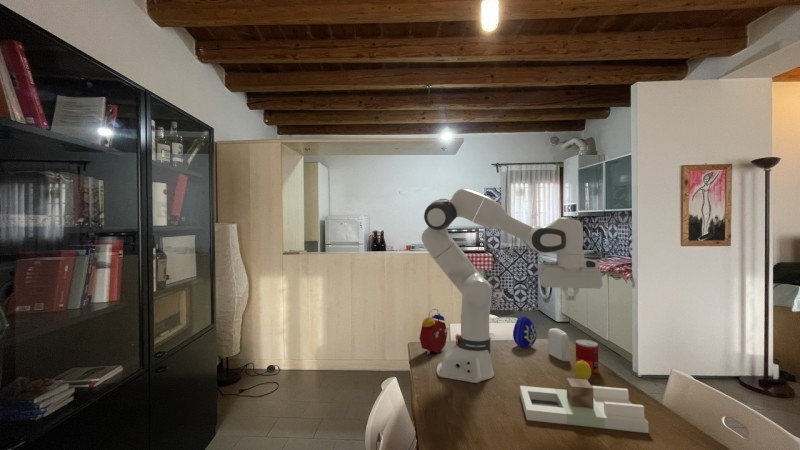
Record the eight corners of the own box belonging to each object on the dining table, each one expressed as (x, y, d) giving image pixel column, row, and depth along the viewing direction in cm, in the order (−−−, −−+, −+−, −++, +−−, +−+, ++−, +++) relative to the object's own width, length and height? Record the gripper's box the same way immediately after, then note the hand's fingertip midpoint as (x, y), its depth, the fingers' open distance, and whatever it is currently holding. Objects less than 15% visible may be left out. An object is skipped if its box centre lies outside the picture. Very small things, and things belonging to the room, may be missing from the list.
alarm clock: (436, 345, 167) (436, 304, 167) (452, 349, 161) (451, 307, 161) (419, 354, 155) (418, 310, 155) (435, 358, 150) (434, 313, 150)
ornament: (523, 352, 157) (523, 319, 157) (508, 346, 165) (508, 315, 165) (539, 347, 162) (539, 316, 163) (524, 342, 170) (524, 312, 171)
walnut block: (571, 406, 103) (571, 386, 103) (566, 396, 109) (566, 378, 109) (593, 408, 102) (593, 388, 102) (587, 398, 107) (586, 379, 108)
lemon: (593, 385, 123) (593, 363, 123) (576, 384, 124) (576, 362, 124) (588, 379, 128) (587, 357, 128) (572, 377, 129) (572, 356, 130)
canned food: (598, 375, 131) (597, 346, 132) (575, 371, 136) (574, 343, 136) (598, 368, 138) (598, 341, 138) (576, 364, 142) (576, 338, 142)
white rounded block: (546, 353, 155) (546, 326, 155) (555, 352, 156) (554, 325, 156) (562, 362, 145) (561, 333, 145) (571, 361, 146) (570, 332, 146)
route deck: (526, 419, 101) (526, 399, 101) (520, 394, 117) (519, 376, 117) (648, 433, 94) (648, 411, 94) (623, 404, 110) (623, 385, 110)
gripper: (541, 262, 122) (541, 300, 122) (603, 263, 118) (604, 303, 118) (537, 260, 128) (538, 297, 128) (597, 261, 124) (598, 299, 124)
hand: (570, 300), depth 123 cm, fingers closed
